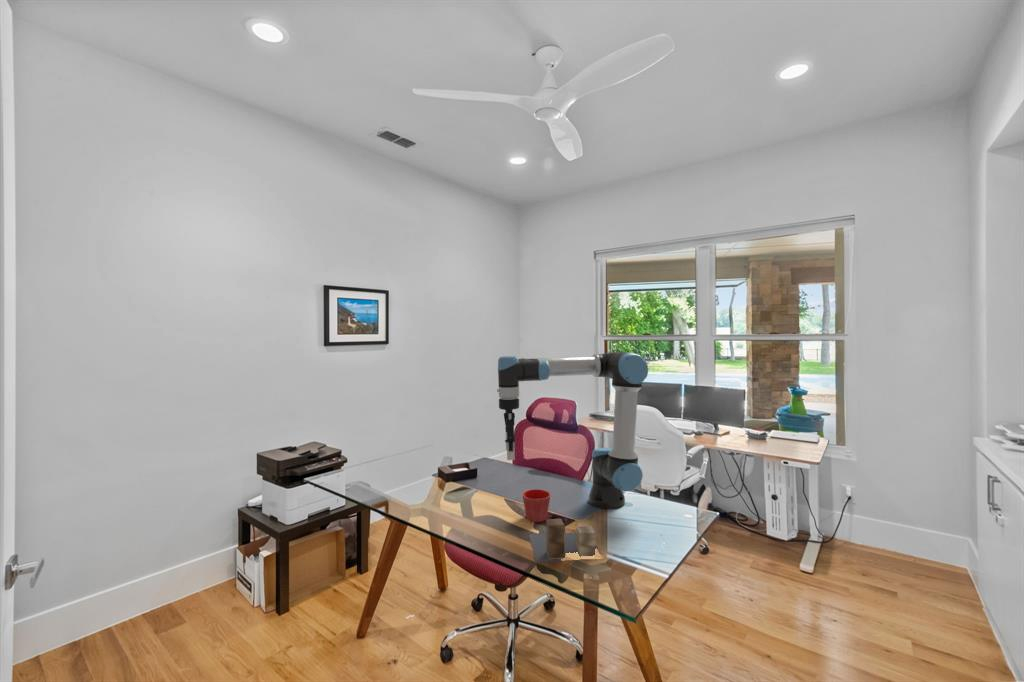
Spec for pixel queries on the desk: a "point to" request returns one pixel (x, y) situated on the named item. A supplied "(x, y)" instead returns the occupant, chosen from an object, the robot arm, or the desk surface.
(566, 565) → the desk surface
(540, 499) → the flower pot
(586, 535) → the grey beige upright block
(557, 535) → the grey brown block
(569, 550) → the mat
